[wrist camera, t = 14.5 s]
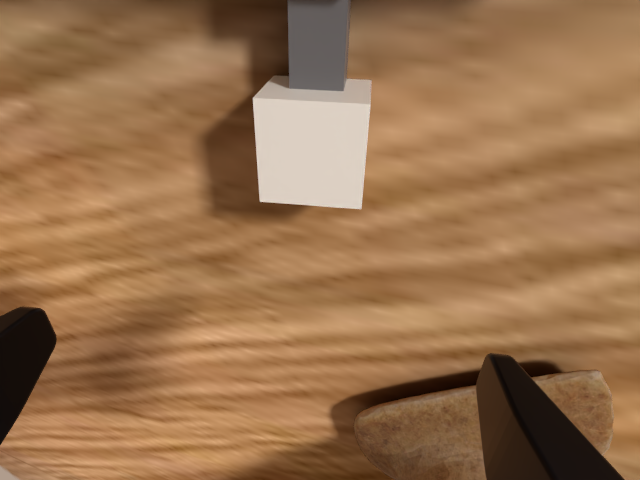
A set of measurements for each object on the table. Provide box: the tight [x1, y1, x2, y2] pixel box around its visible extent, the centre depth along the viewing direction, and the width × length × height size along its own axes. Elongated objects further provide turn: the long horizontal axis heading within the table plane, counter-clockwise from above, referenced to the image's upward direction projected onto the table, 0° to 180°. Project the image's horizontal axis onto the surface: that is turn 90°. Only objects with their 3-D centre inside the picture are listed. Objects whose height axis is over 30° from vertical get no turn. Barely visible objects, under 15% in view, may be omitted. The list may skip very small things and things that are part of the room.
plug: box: [253, 0, 371, 209], centre depth 15 cm, size 10×4×4 cm, turn 179°
